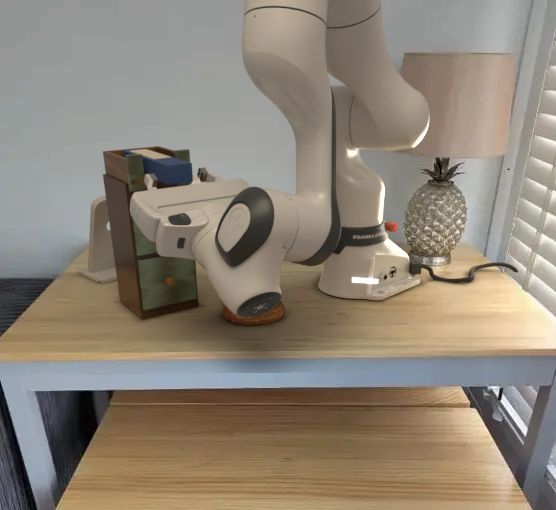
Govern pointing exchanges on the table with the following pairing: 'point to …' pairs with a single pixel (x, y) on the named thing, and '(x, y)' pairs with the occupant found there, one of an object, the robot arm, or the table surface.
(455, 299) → the table surface
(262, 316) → the bell
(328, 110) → the robot arm
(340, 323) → the table surface
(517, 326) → the table surface
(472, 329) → the table surface
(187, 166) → the case
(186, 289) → the drawer stand
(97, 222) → the phone holder
